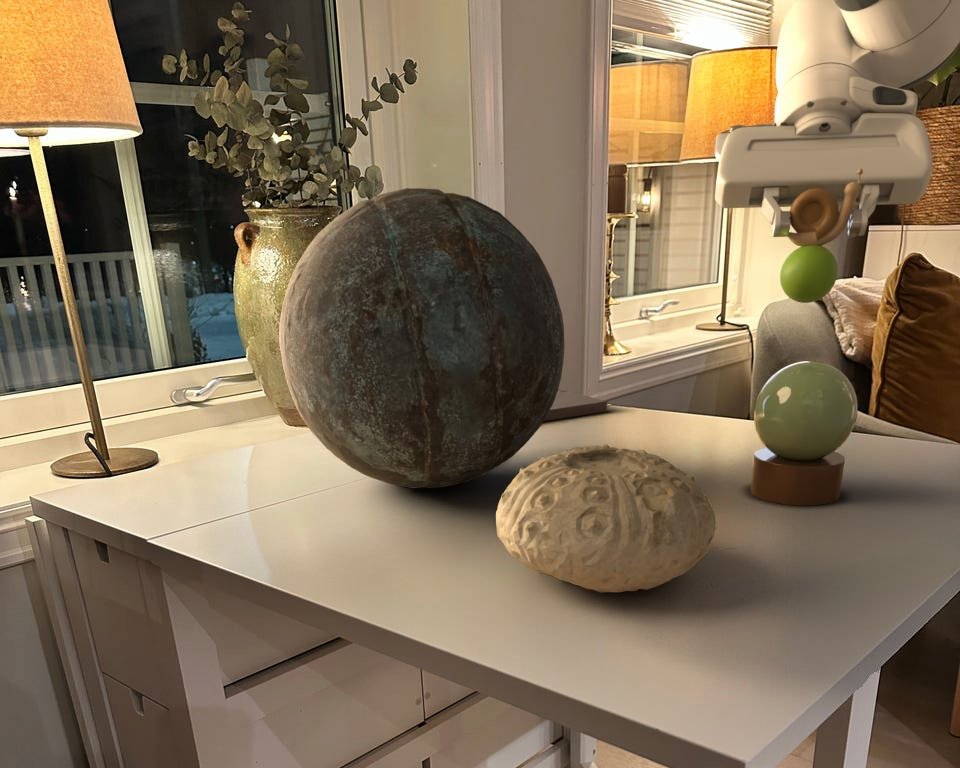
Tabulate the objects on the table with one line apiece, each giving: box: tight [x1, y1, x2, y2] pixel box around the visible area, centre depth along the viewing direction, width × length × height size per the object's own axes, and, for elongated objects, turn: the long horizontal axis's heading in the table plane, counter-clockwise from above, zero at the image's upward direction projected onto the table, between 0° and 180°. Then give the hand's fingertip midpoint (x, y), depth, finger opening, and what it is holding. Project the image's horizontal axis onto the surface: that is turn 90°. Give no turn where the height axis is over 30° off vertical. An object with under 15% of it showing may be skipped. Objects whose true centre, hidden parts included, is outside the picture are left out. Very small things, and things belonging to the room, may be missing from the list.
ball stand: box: [750, 360, 859, 506], centre depth 94 cm, size 10×10×14 cm
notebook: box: [543, 388, 608, 422], centre depth 136 cm, size 13×2×21 cm
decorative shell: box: [495, 443, 716, 593], centre depth 75 cm, size 18×18×10 cm
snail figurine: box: [779, 169, 863, 304], centre depth 90 cm, size 5×6×12 cm
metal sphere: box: [278, 187, 565, 489], centre depth 97 cm, size 30×30×30 cm
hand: (819, 231), depth 89 cm, fingers closed on snail figurine, 6 cm apart
